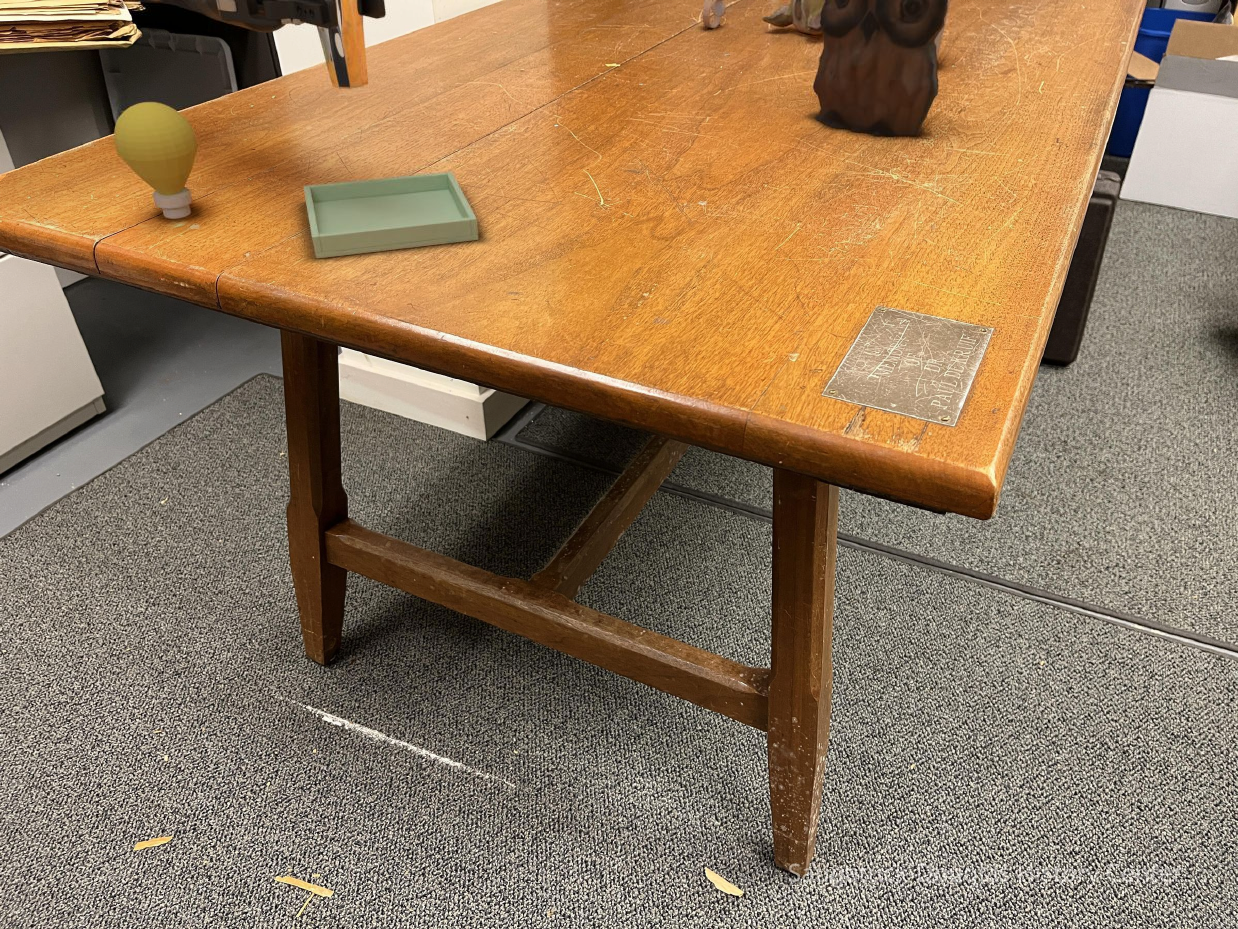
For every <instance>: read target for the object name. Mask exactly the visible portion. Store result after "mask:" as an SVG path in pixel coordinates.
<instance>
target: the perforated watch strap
mask: <svg viewBox="0 0 1238 929" xmlns="http://www.w3.org/2000/svg"><path fill="white" fill-rule="evenodd" d="M711 12H712V14H713V15H714V16H713V19H712V22H711V19H710V18H711ZM726 12H727V6H726V3H725V2H724V0H705V1H704V3H703V7H702V12H701V15H702V24H703V25H704V27H706V28H710V29H716V28H717V27H718V26H719V25H720V22H721V21H722V19H723V16H724V15H725V14H726Z"/></svg>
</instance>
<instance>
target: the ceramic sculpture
mask: <svg viewBox="0 0 1238 929" xmlns="http://www.w3.org/2000/svg"><path fill="white" fill-rule="evenodd" d="M824 3H825V0H791V1H790V2H789V4H783V5H781V7H780V8H779V7H778V8H776V10H775V11H773V13H772V14H770V15H769V16H764V17H762V21H763V22H764V23H767V24H770V25H772V26H773V27H777V28H785V27H789V26H791V25H793V27H794V29H796V30H797V31H799V32H801V33H803V34H808V35H809V34H811V35H813V36H818V35H822V27H821V25H820V19H821V11H822V8H823V5H824Z"/></svg>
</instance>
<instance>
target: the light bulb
mask: <svg viewBox="0 0 1238 929" xmlns="http://www.w3.org/2000/svg"><path fill="white" fill-rule="evenodd" d="M113 135H114V136H113V138H114V146H115V149H116V152H117V154H118V156H119V157H120V158H121V159H122V160H123V161H124V163H125V164H127V166H128V167H129V168H130V169H131V170H132V171H133V172H134V174H136V175H137V177H139V178H140V179H141V180H142V181H144V182H145V183H146V184H147V185H148V186H150V187H151V188H152V189H153V190H154V191H153V192H152V198H153V201H154V204H155V206H156V207H158V208H160V209H161V210H162V214H163V216H164V217H165V218H166V219H171V220H172V219H173V220H174V219H175V220H176V219H182V218H186V217H188V216H189V215H190V214H191V213H192V211H191V208H190V204H191V203H192V202H193V196H192V192H191V190H190V188H188V187H187V186H186V184H187V183H188V179H189V177H190V175H191V173H192V170H193V168H194V163H195V159H196V155H197V150H198V141H197V136H196V135H197V134H196V133H195V130H194V128H193V126H192V125H191V123H190V121H188V119H187V118H186V117H185V116H184V115H183V114H182V113H180V112H179V111H178V110H176V109H174V108H173V107H172V106H169V105H166V104H164V103H161V102H156V101H144V102H139V103H135V104H133V105H132V106H129V107H128V108H127V109H125V110H124V111H123V112H122V113H121V114H120V116H118V119H117V120H116V123H115V126H114V132H113Z"/></svg>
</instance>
